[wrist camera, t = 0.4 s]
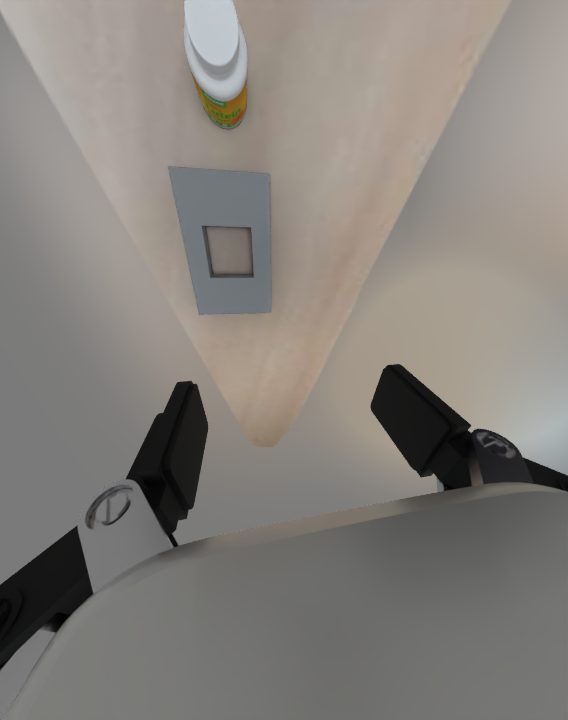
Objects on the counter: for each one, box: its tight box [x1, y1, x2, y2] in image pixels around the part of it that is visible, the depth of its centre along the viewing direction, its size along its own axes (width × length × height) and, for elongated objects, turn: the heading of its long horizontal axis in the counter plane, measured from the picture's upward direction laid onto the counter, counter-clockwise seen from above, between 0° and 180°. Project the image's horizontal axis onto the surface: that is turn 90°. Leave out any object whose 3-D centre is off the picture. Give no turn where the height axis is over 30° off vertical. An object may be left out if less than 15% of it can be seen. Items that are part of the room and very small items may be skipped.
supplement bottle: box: [184, 0, 248, 129], centre depth 19 cm, size 5×5×10 cm
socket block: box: [168, 166, 271, 315], centre depth 30 cm, size 18×12×3 cm, turn 179°
